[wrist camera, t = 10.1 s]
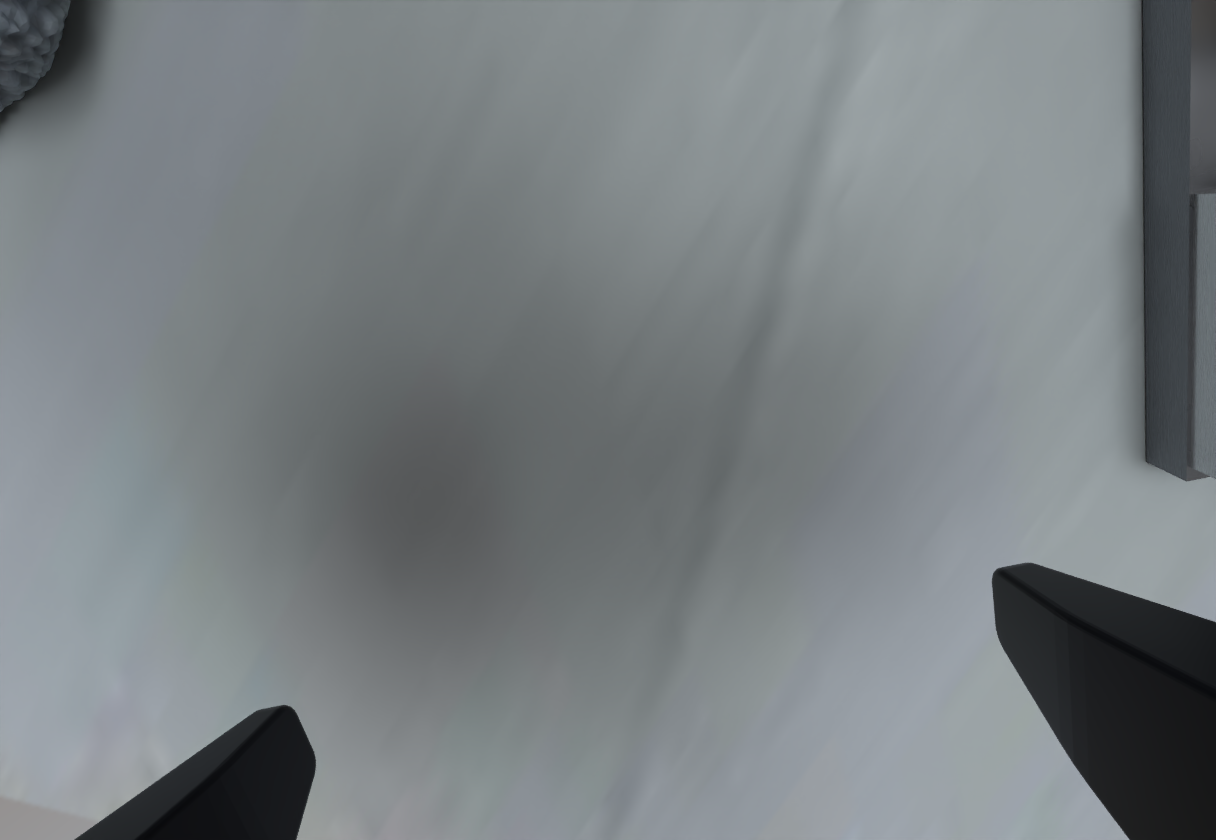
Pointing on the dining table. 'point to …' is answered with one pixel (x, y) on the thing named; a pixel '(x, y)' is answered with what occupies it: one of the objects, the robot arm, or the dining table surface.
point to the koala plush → (28, 43)
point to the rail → (1180, 235)
